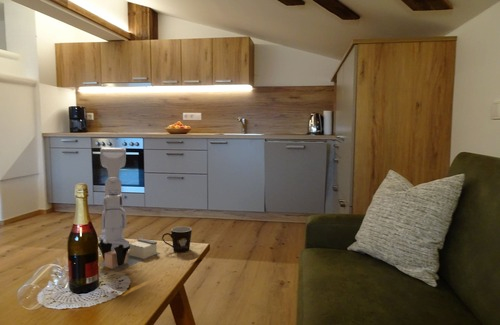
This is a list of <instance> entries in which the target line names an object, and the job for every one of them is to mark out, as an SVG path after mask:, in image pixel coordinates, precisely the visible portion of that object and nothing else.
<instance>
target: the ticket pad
mask: <svg viewBox="0 0 500 325" xmlns="http://www.w3.org/2000/svg"><path fill="white" fill-rule="evenodd" d="M129 245H130V248H129V250H128V253H129V255H131V256H135V257H138V258H142V259H145V258H147V257H150V256H152V255H155V254H157V252H158V251H157V245H158V242H157V241H154V240H150V239H145V238H142V237H140V238H138V239H137V240H136V241H135V242H133V243H132V242H131V243H129ZM145 260H146V259H145Z"/></svg>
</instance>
